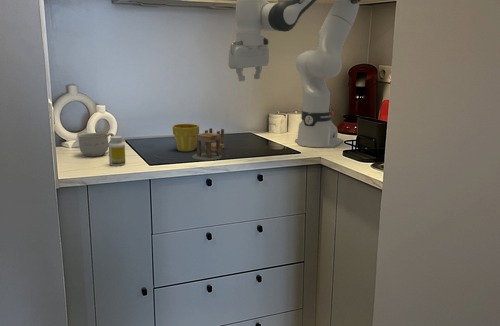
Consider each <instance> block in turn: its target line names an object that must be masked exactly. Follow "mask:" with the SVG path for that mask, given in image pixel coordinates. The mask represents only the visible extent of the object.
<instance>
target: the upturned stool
mask: <svg viewBox="0 0 500 326" xmlns="http://www.w3.org/2000/svg"><path fill="white" fill-rule="evenodd" d="M204 133H213V127H212V128H211V127H210V128H209V129H208V130H204ZM216 134H220V151H222V150H223V148H224V149H225V129H224V128H221V129H220V130H217V131H216ZM204 150H205V151H206V142H205V141H204ZM211 150H212V151H211V152H216V142H214V141H213V142H211Z"/></svg>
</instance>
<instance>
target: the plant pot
mask: <svg viewBox="0 0 500 326" xmlns="http://www.w3.org/2000/svg"><path fill="white" fill-rule="evenodd" d="M172 134H173V135H174V139H175V143H176V148H177V151H180V152H192V151H194V150H195V149H196V145H197V135H199V134H200V125H198V124H195V123H177V124H173V125H172Z"/></svg>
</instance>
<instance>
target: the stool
mask: <svg viewBox="0 0 500 326" xmlns="http://www.w3.org/2000/svg"><path fill="white" fill-rule="evenodd" d="M202 142H204V143H205V142H206V150H205V153H206V154H208V158H211V153H212V151H211V142H213V143H214V142H215V143H216V151H215V154H216V156H220V155H221V150H220V143H221V133H220V134H217V133H213V132H212V133H209V132H208V133H205V132H204V133H199V134H198V135H197V140H196V145H197V146H196V149H197V151H196V152H197V153H196V154H197V156H201V153H202Z"/></svg>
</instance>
